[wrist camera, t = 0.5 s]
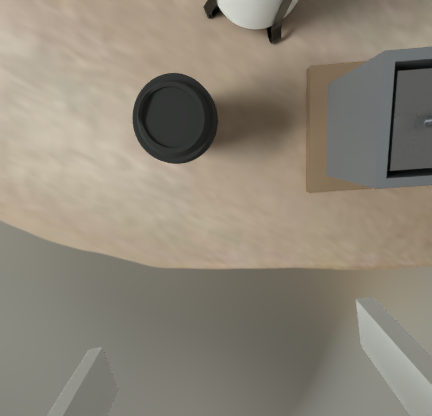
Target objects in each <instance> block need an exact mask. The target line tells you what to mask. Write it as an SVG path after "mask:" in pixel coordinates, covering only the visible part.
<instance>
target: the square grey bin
mask: <svg viewBox="0 0 432 416" xmlns="http://www.w3.org/2000/svg"><path fill="white" fill-rule="evenodd" d="M429 68H432V47H424V48H412V49H400V50H388V51H384V52H382V53H380V54H379V55H377V56H375V57H374V58H372V59H370V60H368V61H366V62H354V63H342V64H330V65H318V66H310V67H309V68H308V69H307V157H306V191H307V192H309V193H313V192H328V191H342V190H357V189H371V188H375V189H381V188H395V187H410V186H424V185H432V168H422V169H408V170H394V171H388V170H387V163H388V150H389V137H390V124H391V111H392V97H393V84H394V72H397V71H404V70H416V69H429Z"/></svg>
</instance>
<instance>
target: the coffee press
mask: <svg viewBox="0 0 432 416" xmlns="http://www.w3.org/2000/svg"><path fill="white" fill-rule="evenodd" d="M297 1H298V0H208V1H207V2H206V4H205V5H204V10H205V12H206V14H207V17H208V18H213V17H214V16H216V15H217V14H218V12H219V11H220V10H221V11H222V12H223V14H224V15H225V16H226V17H227V18H228V19H229V20H231V21H232V22H233V23H235V24H237V25H238V26H241V27H243V28H247V29H264V28H267V33H268V38H269V41H270V43H271V44H272V43H274V42H276V41H278V40H280V39H281V23H282V21H283V19H284V18H285V17H286V16H287V15H288V14H289V13H290V12H291V10H292V9H293V8H294V6H295V5H296V3H297Z"/></svg>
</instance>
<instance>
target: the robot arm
mask: <svg viewBox="0 0 432 416" xmlns="http://www.w3.org/2000/svg"><path fill="white" fill-rule="evenodd" d="M356 304H357V314H358V323H359V331H360V341H361V346H362V348H363V349H364V351H365V352H366V354H367V355H368V356H369V358H370V359H371V361H372V362H373V363H374V365H375V366H376V368H377V369H378V370H379V372H380V373H381V374H382V376H383V378H384V379H385V380H386V382H387V383H388V384H389V386H390V387H391V389H392V390H393V392H394V393H395V394H396V396H397V397H398V399H399V400H400V401H401V403H402V404H403V406H404V407H405V409H406V410H407V412H408V413H409V414H410V416H432V356H431V355H430V354H429V353H428V352H427V351H426V350H425V349H424V348H423V347H422V346H421V345H420V344H419V343H418V342H417V341H416V340H415V339H414V338H413V337H412V336H411V335H410V334H409V333H408V332H407V331H406V330H405V329H404V328H403V327H402V326H401V325H400V324H399V323H398V322H397V321H396V320H395V319H394V318H393V317H392V316H391V315H390V314H389V313H388V312H387V311H386V310H385V309H384V308H383V307H382V306H381V305H380V304H379V303H378V302H377V301H376V300H375V299H374V298H373V297H366V298H361V299H356ZM118 389H119V388H118V386H117V383H116V380H115V378H114V375H113V373H112V370H111V368H110V365H109V362H108V360H107V357H106V355H105V352H104V349H103V347H99V348H94V349H89V350H88V351H87V353H86V355H85V356H84V358H83V359H82V361H81V362H80V364H79V365H78V367H77V369H76V370H75V372H74V373H73V375H72V376H71V378H70V380H69V381H68V383H67V384H66V386H65V387H64V389H63V391H62V392H61V394H60V395H59V397H58V398H57V400H56V402H55V403H54V405H53V406H52V408H51V409H50V411H49V413H48V414H47V416H107V415H108V413H109V411H110V408H111V406H112V403H113V401H114V399H115V396H116V394H117V391H118Z"/></svg>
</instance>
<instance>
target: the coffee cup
mask: <svg viewBox="0 0 432 416" xmlns="http://www.w3.org/2000/svg"><path fill="white" fill-rule="evenodd" d="M217 124H218V118H217V111H216V107H215V104H214V101H213V99H212V97H211V96H210V94H209V93H208V91H207V90H206V89H205V88H204V87H203V86H202V85H201V84H200V83H199V82H197V81H196V80H195V79H193V78H191V77H189V76H187V75H183V74H178V73H169V74H164V75H161V76H158V77H156V78H154V79H153V80H151V81H150V82H149V83H147V84H146V85H145V86H144V88H143V89H142V90H141V92H140V93H139V95H138V97H137V99H136V102H135V105H134V109H133V127H134V131H135V134H136V137H137V139H138V141H139V143H140V144H141V146H142V147H143V148H144V149H145V150H146V151H147V152H148V153H149V154H150V155H151V156H153V157H154V158H156V159H158V160H161V161H164V162H167V163H173V164H180V163H186V162H190V161H192V160H194V159H196V158H198V157H200V156H201V155H202V154H203V153H204V152H205V151H206V150H207V149H208V148H209V147H210V145H211V143H212V142H213V140H214V137H215V134H216V131H217Z"/></svg>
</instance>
